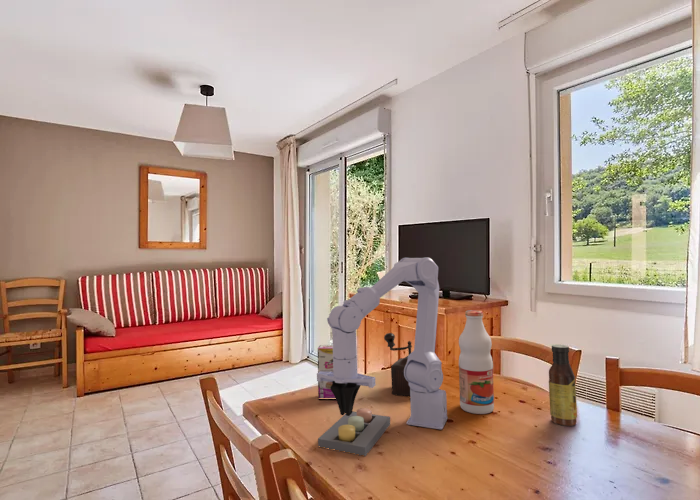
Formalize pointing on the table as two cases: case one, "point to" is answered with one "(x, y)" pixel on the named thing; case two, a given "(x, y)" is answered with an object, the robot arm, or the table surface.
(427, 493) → the table surface
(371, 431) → the panel
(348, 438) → the mustard button
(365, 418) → the terracotta button
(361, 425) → the sage button
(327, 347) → the candy bar box
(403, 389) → the dark brown coffee grinder
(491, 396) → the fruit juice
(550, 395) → the sauce bottle
